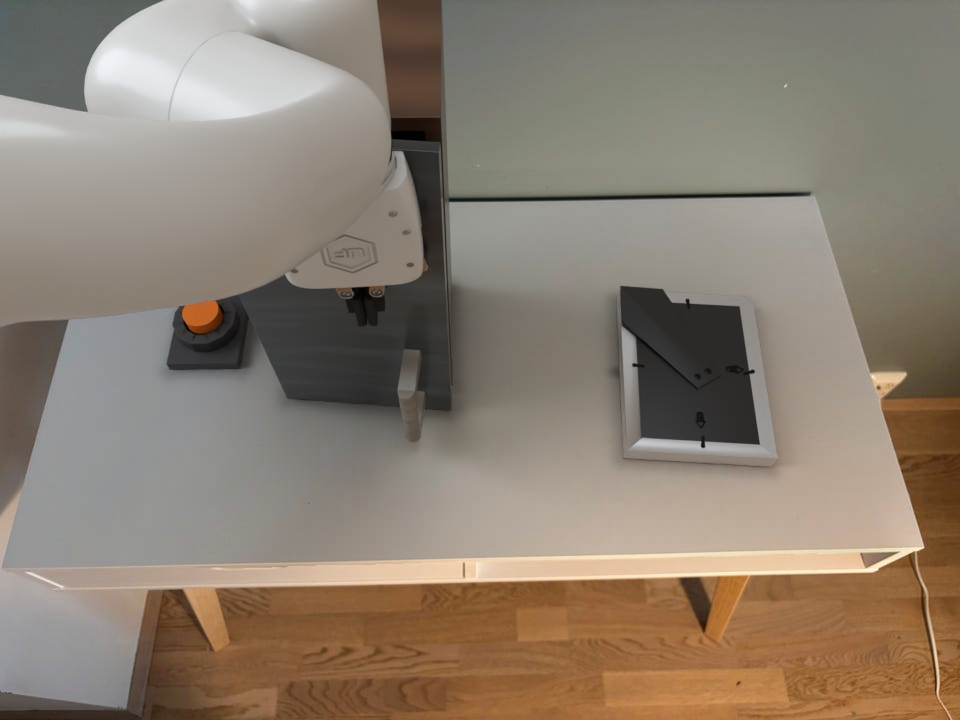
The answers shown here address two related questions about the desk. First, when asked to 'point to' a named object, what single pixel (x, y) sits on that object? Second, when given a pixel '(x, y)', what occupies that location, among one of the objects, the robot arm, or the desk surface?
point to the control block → (210, 340)
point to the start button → (203, 317)
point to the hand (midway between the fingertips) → (368, 312)
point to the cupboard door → (371, 349)
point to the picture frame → (692, 379)
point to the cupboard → (418, 89)
